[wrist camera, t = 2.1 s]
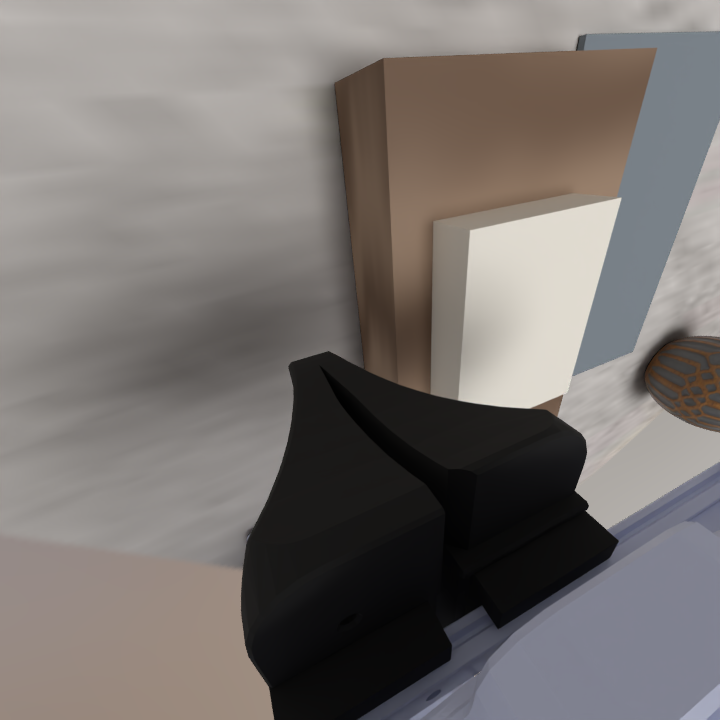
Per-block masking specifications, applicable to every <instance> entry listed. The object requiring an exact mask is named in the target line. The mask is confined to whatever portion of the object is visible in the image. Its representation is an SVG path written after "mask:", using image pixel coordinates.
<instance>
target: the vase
mask: <svg viewBox="0 0 720 720" xmlns="http://www.w3.org/2000/svg"><path fill="white" fill-rule="evenodd" d="M645 382H646V385H647V388H648V391H649V392H650V394H651V396H652V397H653V399H654V400H655V401H656V402H657V403H658V404H659V405H660V406H661V407H662V408H664V409H665V410H666V411H668V412H669V413H670V414H672V415H674V416H675V417H677V418H679V419H681V420H683V421H685V422H687V423H689V424H691V425H694V426H697V427H700V428H703V429H706V430H710V431H715V432H720V337H712V336H694V337H687V338H683V339H679V340H675V341H672V342H670V343H668V344H667V345H665V346H664V347H663V348H662V349H661V350H660V351H659V352H658V353H657V354H656V355H655V356H654V357H653V359H652V360H651V362H650V363H649V365H648V367H647V370H646V372H645Z"/></svg>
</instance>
